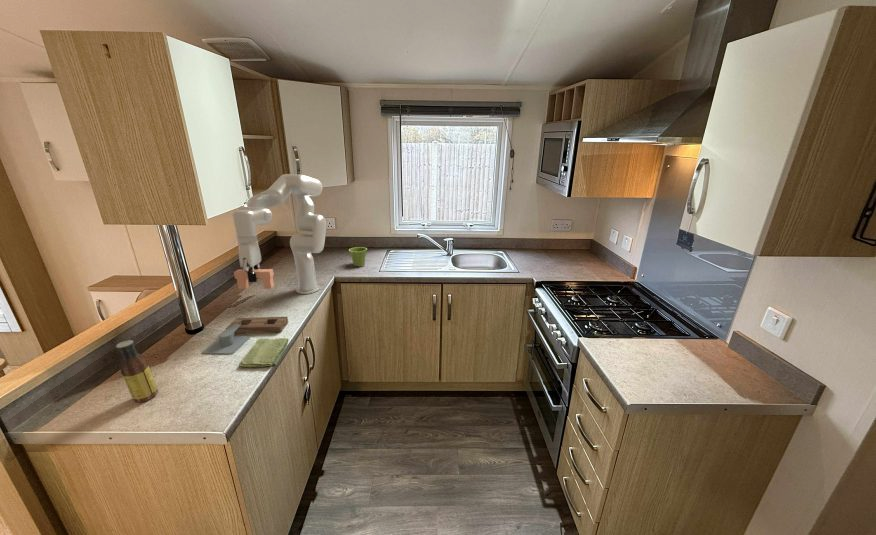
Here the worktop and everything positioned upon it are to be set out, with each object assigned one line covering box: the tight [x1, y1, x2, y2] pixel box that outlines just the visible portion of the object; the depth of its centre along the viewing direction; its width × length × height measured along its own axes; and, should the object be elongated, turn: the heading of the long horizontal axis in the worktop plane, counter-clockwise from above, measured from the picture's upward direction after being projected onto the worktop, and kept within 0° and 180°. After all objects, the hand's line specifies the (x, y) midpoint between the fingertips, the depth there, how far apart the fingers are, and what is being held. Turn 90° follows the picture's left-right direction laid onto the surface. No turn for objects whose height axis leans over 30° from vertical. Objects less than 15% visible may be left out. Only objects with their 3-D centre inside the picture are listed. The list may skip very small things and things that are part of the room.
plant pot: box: [348, 246, 368, 267], centre depth 224 cm, size 12×12×11 cm
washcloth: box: [238, 337, 290, 369], centre depth 128 cm, size 13×18×3 cm
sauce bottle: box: [115, 339, 159, 403], centre depth 103 cm, size 7×6×20 cm
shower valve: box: [201, 324, 251, 355], centre depth 134 cm, size 12×6×15 cm
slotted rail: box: [225, 316, 289, 335], centre depth 146 cm, size 9×22×3 cm, turn 94°
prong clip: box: [233, 268, 275, 290], centre depth 147 cm, size 4×15×8 cm, turn 93°
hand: (255, 279), depth 147 cm, fingers closed on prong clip, 3 cm apart
